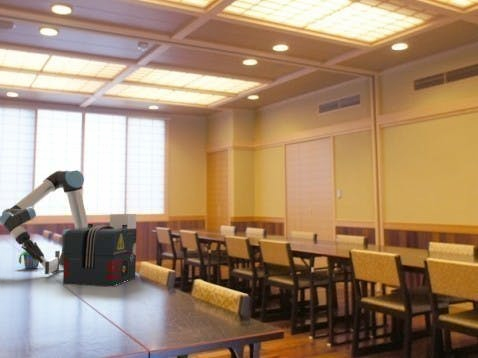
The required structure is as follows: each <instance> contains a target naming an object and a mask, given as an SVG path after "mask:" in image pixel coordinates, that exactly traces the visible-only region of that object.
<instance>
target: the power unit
mask: <svg viewBox="0 0 478 358" xmlns="http://www.w3.org/2000/svg"><path fill="white" fill-rule="evenodd" d="M87 226H88V227H87V228H78V229H75V228H70V230H68V229H67V230H68V231H67V232H66V234H65V239H64V264H63V269H62V270H63V272H62V273H63V275H62V284H63V285H73V286H75V285H76V286H89V285H90V287H91V286H92V287H93V286H94V287H107V286H113V287H115V286H114V285H116V284H119V283H121V284H123V283H122V282H124V281H127V280H130V279H132V278H135V279H136V267H137V266H136V265H137V264H136V263H137V260H136V259H137V255H136V254H135V255H134V254H133V245H134V244H135V245H136V243H137V231H138V230H137V229H138V228H137V227H136V228H131V229H128V228H127V225H122V228H114V227H112V226H110V225H96V226H94V223H88V225H87ZM132 280H133V279H132ZM130 281H131V280H130ZM127 282H128V281H127ZM124 283H125V282H124ZM119 285H120V284H119ZM116 286H117V285H116Z"/></svg>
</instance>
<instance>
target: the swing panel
mask: <svg viewBox="0 0 478 358" xmlns="http://www.w3.org/2000/svg"><path fill="white" fill-rule="evenodd" d="M57 267H58V257H55V256H54V257H53V258H50V259H48V260H46V261H45V268H44V275H50V274H52V273H51V272H53V271H55V270H57Z"/></svg>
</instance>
